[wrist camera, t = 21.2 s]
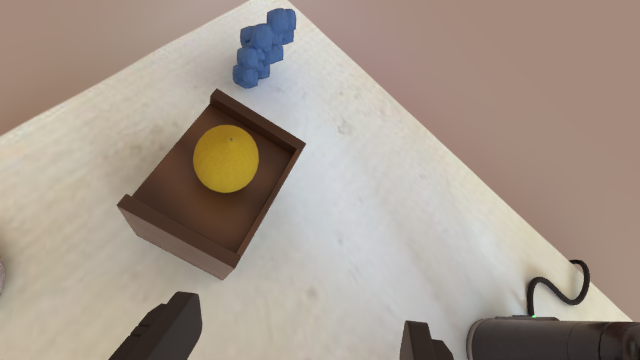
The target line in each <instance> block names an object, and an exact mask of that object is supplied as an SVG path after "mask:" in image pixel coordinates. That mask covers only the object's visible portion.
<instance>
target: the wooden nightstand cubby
mask: <svg viewBox="0 0 640 360" xmlns="http://www.w3.org/2000/svg"><path fill="white" fill-rule="evenodd" d="M220 125H232V126H236V127H239V128H241V129H243V130H244V131H246V132H247V133H248V134H249V135H250V136H251V137H252V138H253V140H254V141H255V143H256V146H257V149H258V157H259V162H258V167H257V171H256V173H255V175H254V177H253V179H252V180H251V181H250V182H249V183H248V184H247V185H246V186H245V187H243V188H241V189H240V190H237V191H234V192H228V193H223V192H217V191H214V190H212V189H209V188H208V187H207V186H205V185H204V184H203V183H202V182H201V181H200V179H199V178H198V176H197V174H196V172H195V170H194V164H193V156H194V150H195V147H196V145H197V143H198V141H199V139H200V138H201V137H202V136H203V135H204V134H205V133H206V132H207V131H209V130H210V129H212V128H214V127H217V126H220ZM305 145H306V143H304V142H303V141H301V140H300V139H298V138H296V137H295V136H293V135H291V134H290V133H288V132H287V131H285V130H283V129H282V128H280V127H279V126H277V125H275V124H274V123H272V122H270V121H269V120H267V119H266V118H264V117H262V116H261V115H259V114H257V113H256V112H254V111H253V110H251V109H249V108H248V107H246V106H244V105H243V104H241V103H240V102H238V101H236V100H235V99H233V98H231V97H230V96H228V95H227V94H225V93H223V92H222V91H220V90H218V89H216V90H215V91H214V92H213V93H212V95H211V96H210V104H209V105H208V107H207V108H206V109H205V110H204V111H203V112H202V114H201V115H200V116H199V117H198V118H197V120H196V121H195V122H194V123H193V124H192V126H191V127H190V128H189V129H188V130H187V131H186V133H185V134H184V135H183V136H182V137H181V139H180V140H179V141H178V142H177V143H176V145H175V146H174V147H173V148H172V149H171V150H170V152H169V153H168V154H167V155H166V156H165V158H164V159H163V160H162V161H161V162H160V164H159V165H158V166H157V167H156V168H155V169H154V171H153V172H152V173H151V174H150V175H149V177H148V178H147V179H146V180H145V181H144V182H143V184H142V185H141V186H140V187H139V188H138V190H137V191H136V192H135V193H134V194H133V196H132V197H131V196H129V195H128V194H126V195H125V196H124V197H123V198H122V199H121V201H120V202H119V203H118V204H117V207H118V208H119V210H120V211H121V213H122V214H123V216H124V217H125V219H126V220H127V222H128V223H129V225H130V226H131V228H132V229H133V231H134V232H135V233H136V235H137V236H139V237H141V238H143V239H145V240H147V241H149V242H151V243H153V244H154V245H156V246H158V247H160V248H162V249H164V250H166V251H168V252H170V253H171V254H173V255H175V256H177V257H179V258H181V259H183V260H185V261H187V262H188V263H190V264H192V265H194V266H196V267H198V268H200V269H202V270H204V271H205V272H207V273H209V274H211V275H213V276H215V277H217V278H219V279H221V280H224V279H225V278H226V277H227V276H228V275H229V274H230V273H231V272H232V271H233V270H234V269H235V267H236V265H237V264H238V262H239V260H240V258H241V256H242V255H243V253H244V251H245V250H246V248H247V246H248V244H249V243H250V241H251V239H252V237H253V236H254V234H255V232H256V231H257V229H258V227H259V225H260V224H261V222H262V220H263V218H264V217H265V215H266V213H267V211H268V210H269V208H270V206H271V204H272V203H273V201H274V199H275V197H276V196H277V194H278V192H279V190H280V189H281V187H282V185H283V183H284V182H285V180H286V178H287V176H288V175H289V173H290V171H291V169H292V168H293V166H294V164H295V162H296V161H297V159H298V157H299V155H300V154H301V152H302V150H303V148H304V147H305Z"/></svg>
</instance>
